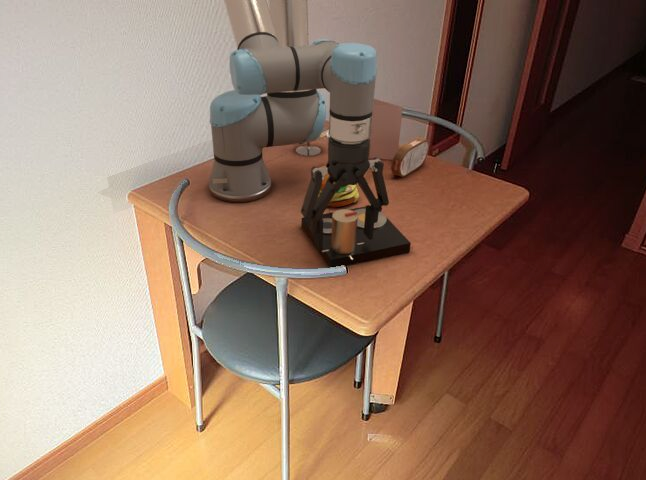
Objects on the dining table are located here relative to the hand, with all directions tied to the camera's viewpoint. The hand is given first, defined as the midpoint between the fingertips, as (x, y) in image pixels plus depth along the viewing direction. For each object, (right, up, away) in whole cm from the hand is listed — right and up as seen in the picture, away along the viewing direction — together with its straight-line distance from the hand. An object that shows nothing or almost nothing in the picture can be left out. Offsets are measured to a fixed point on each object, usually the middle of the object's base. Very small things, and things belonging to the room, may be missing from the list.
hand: (343, 240), depth 112 cm
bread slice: (+19, +20, +36) cm, 46 cm away
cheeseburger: (-1, +11, +23) cm, 25 cm away
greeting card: (+11, +25, +43) cm, 51 cm away
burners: (+2, +4, +9) cm, 10 cm away
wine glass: (-8, +27, +46) cm, 54 cm away
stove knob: (0, -1, +1) cm, 2 cm away
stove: (+3, +1, +8) cm, 8 cm away
